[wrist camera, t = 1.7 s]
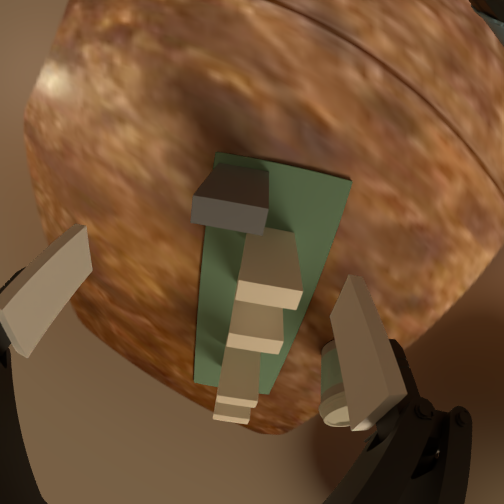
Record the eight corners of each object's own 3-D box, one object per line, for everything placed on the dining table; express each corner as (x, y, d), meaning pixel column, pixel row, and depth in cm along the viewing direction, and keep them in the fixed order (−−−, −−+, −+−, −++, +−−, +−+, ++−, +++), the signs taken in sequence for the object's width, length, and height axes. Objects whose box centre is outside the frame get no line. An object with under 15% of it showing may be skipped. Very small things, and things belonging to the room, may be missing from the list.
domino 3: (227, 336, 38) (217, 395, 30) (261, 342, 39) (257, 401, 30) (225, 345, 40) (216, 402, 31) (258, 350, 40) (254, 407, 31)
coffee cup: (305, 363, 42) (310, 428, 31) (323, 328, 37) (335, 400, 27) (352, 366, 42) (363, 427, 32) (374, 333, 38) (394, 399, 27)
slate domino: (218, 162, 26) (192, 195, 17) (269, 171, 26) (268, 209, 18) (216, 181, 27) (190, 222, 19) (265, 190, 27) (262, 235, 19)
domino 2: (239, 269, 32) (228, 332, 24) (281, 277, 33) (283, 341, 24) (237, 283, 33) (226, 346, 25) (277, 290, 34) (278, 354, 25)
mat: (216, 151, 26) (215, 152, 26) (351, 180, 26) (352, 181, 26) (194, 380, 46) (193, 382, 46) (268, 392, 47) (268, 394, 47)
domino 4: (222, 360, 42) (213, 413, 33) (253, 365, 42) (249, 419, 33) (221, 366, 43) (212, 419, 34) (251, 371, 43) (247, 424, 34)
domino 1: (248, 223, 29) (238, 280, 21) (294, 232, 30) (303, 291, 21) (245, 240, 30) (235, 299, 22) (289, 248, 31) (296, 310, 22)
